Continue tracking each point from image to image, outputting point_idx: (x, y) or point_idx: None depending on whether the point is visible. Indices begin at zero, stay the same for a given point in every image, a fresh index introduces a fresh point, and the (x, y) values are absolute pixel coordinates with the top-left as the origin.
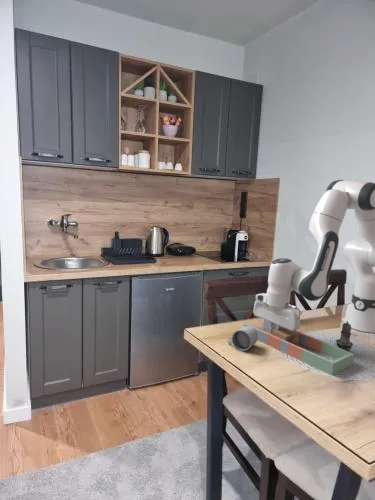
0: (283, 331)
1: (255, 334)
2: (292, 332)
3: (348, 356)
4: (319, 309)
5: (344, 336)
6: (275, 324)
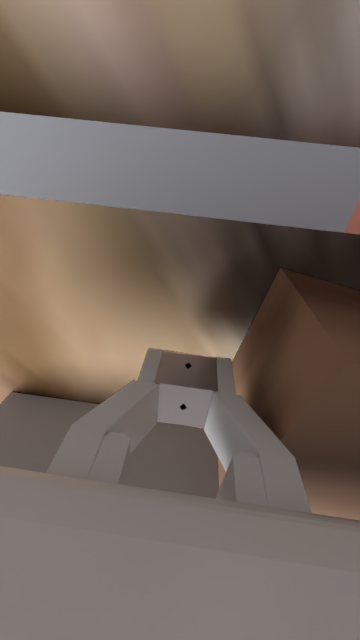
0: (353, 490)
1: None
2: None
3: None
4: None
5: None
6: (26, 192)
